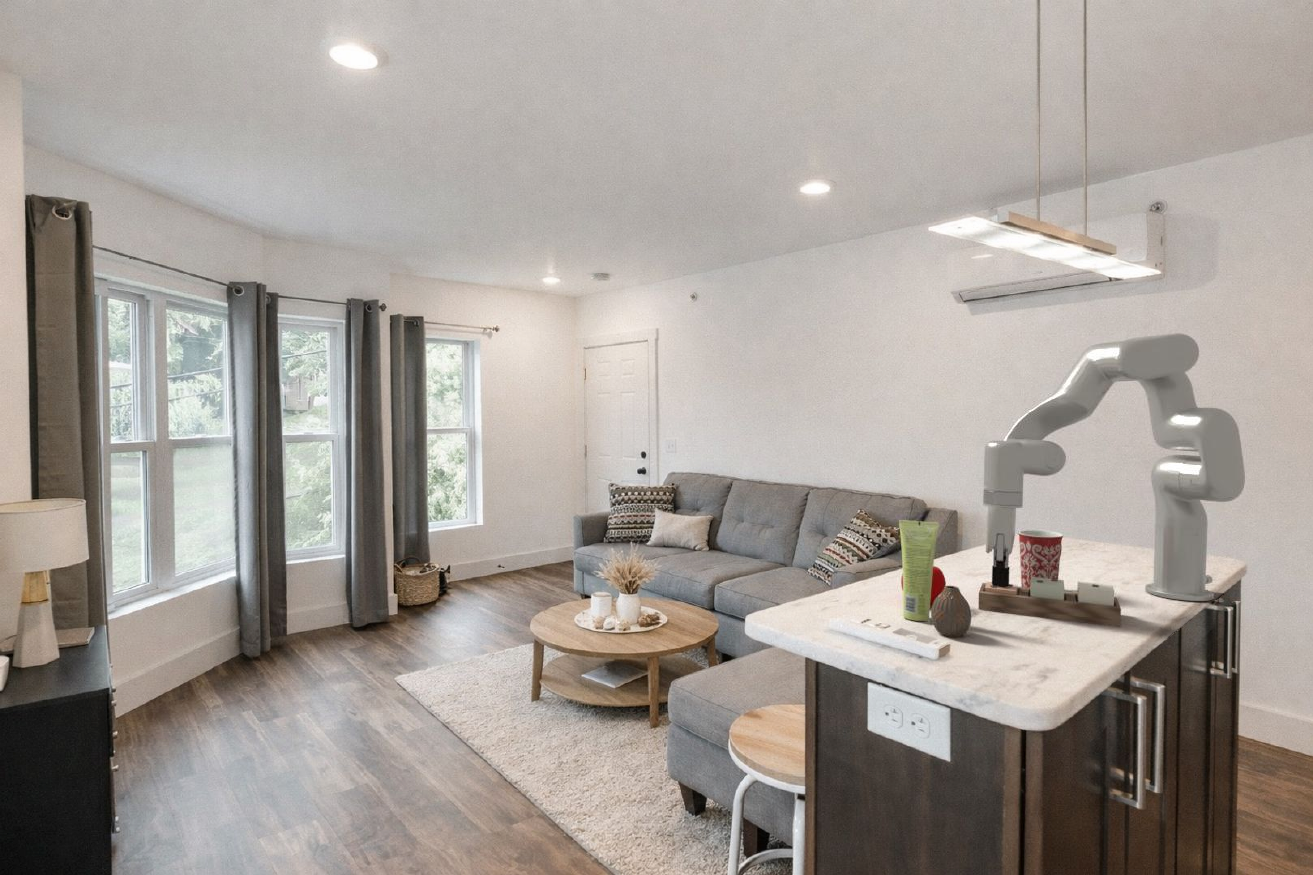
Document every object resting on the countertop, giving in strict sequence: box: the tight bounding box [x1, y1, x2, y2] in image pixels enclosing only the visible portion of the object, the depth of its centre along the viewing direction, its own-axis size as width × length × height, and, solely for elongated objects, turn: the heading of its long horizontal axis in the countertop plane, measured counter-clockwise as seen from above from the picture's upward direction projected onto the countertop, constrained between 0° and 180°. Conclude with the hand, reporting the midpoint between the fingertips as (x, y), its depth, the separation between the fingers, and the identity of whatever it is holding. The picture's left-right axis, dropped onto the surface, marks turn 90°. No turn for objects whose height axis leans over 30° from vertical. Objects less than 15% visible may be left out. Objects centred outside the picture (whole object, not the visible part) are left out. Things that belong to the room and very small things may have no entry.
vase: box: [930, 585, 972, 638], centre depth 133 cm, size 7×7×9 cm
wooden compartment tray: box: [977, 582, 1122, 628], centre depth 149 cm, size 25×10×4 cm, turn 61°
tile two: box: [1030, 577, 1065, 600], centre depth 149 cm, size 6×6×3 cm
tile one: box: [1076, 581, 1115, 606], centre depth 144 cm, size 6×6×3 cm
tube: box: [898, 519, 940, 622], centre depth 143 cm, size 6×5×20 cm
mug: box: [1017, 529, 1064, 588], centre depth 166 cm, size 13×9×14 cm
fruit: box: [900, 565, 947, 606], centre depth 155 cm, size 9×9×10 cm
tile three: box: [985, 581, 1019, 595], centre depth 153 cm, size 6×6×3 cm
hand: (1000, 585), depth 153 cm, fingers closed
